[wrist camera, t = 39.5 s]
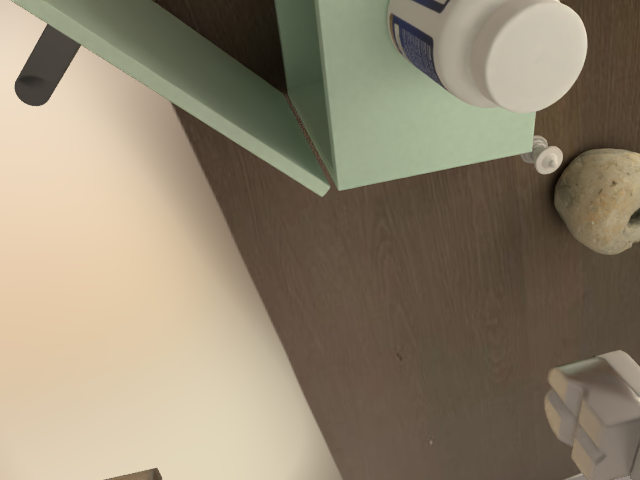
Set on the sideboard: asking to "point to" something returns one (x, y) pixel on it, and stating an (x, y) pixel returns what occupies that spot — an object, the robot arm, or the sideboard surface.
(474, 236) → the sideboard surface
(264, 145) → the fridge door
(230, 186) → the sideboard surface
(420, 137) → the mini fridge
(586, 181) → the stone
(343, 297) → the sideboard surface
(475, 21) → the pill bottle
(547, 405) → the robot arm
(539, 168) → the chess piece
